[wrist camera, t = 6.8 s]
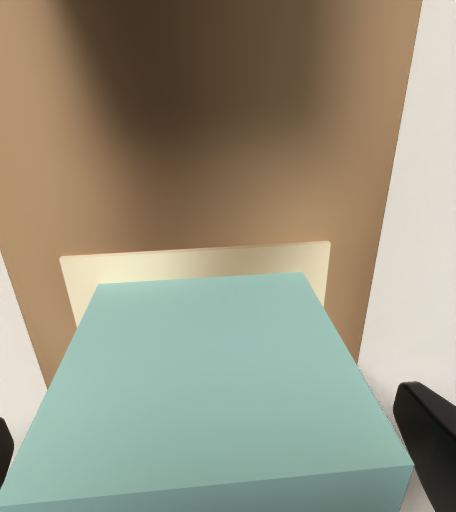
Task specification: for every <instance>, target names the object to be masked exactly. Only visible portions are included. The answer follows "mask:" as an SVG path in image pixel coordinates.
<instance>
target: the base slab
mask: <svg viewBox="0 0 456 512" xmlns="http://www.w3.org/2000/svg"><path fill="white" fill-rule="evenodd" d="M421 6H422V0H0V251H1V254H2V257H3V260H4V263H5V266H6V269H7V272H8V275H9V278H10V280H11V283H12V286H13V289H14V292H15V295H16V298H17V301H18V304H19V307H20V310H21V313H22V316H23V319H24V322H25V325H26V328H27V331H28V334H29V337H30V340H31V342H32V345H33V348H34V351H35V354H36V357H37V360H38V363H39V366H40V369H41V372H42V375H43V378H44V381H45V384H46V387H47V390H48V389H49V386H50V384H51V382H52V380H53V378H54V376H55V374H56V372H57V370H58V368H59V365H60V363H61V361H62V359H63V357H64V355H65V353H66V351H67V349H68V347H69V344H70V342H71V340H72V338H73V336H74V334H75V332H76V330H77V328H78V326H79V324H80V321H81V319H82V317H83V315H84V313H85V311H86V309H87V307H88V305H89V303H90V300H91V298H92V296H93V294H94V292H95V290H96V288H97V286H98V284H106V283H123V282H140V281H156V280H173V279H190V278H207V277H223V276H240V275H257V274H274V273H290V272H303V273H304V275H305V277H306V278H307V280H308V282H309V284H310V285H311V287H312V289H313V291H314V292H315V294H316V296H317V297H318V299H319V301H320V303H321V304H322V306H323V308H324V309H325V311H326V313H327V315H328V316H329V318H330V320H331V322H332V323H333V325H334V327H335V328H336V330H337V332H338V334H339V335H340V337H341V339H342V340H343V342H344V344H345V346H346V347H347V349H348V351H349V353H350V354H351V356H352V358H353V359H354V361H355V363H356V365H357V363H358V357H359V351H360V346H361V340H362V335H363V329H364V324H365V318H366V312H367V307H368V301H369V296H370V290H371V285H372V279H373V273H374V268H375V262H376V257H377V251H378V246H379V240H380V234H381V229H382V223H383V218H384V212H385V207H386V201H387V195H388V190H389V184H390V179H391V173H392V168H393V162H394V156H395V151H396V145H397V140H398V134H399V129H400V123H401V117H402V112H403V106H404V101H405V95H406V90H407V84H408V78H409V73H410V67H411V62H412V56H413V51H414V45H415V39H416V34H417V28H418V23H419V17H420V12H421Z"/></svg>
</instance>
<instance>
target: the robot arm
mask: <svg viewBox="0 0 456 512" xmlns="http://www.w3.org/2000/svg"><path fill="white" fill-rule="evenodd" d="M393 414H394V417H395V420H396V422H397V425H398V427H399V430H400V432H401V435H402V437H403V440H404V442H405V445H406V447H407V450H408V452H409V455H410V457H411V459H412V461H413V463H414V467H415V470H416V472H417V475H418V477H419V479H420V482H421V484H422V486H423V488H424V490H425V492H426V494H427V496H428V498H429V500H430V502H431V504H432V506H433V508H434V510H435V512H456V406H455V405H453V404H452V403H450V402H449V401H447V400H446V399H444V398H443V397H441V396H440V395H438V394H437V393H435V392H434V391H432V390H431V389H429V388H428V387H426V386H425V385H423V384H421V383H420V382H416V381H413V382H403V383H401V384H400V385H399V386H398V389H397V393H396V397H395V401H394V405H393ZM13 451H14V442H13V439H12V436H11V434H10V432H9V429H8V427H7V425H6V422H5V420H4V419H3V418H1V417H0V489H1V487H2V485H3V483H4V481H5V478H6V475H7V471H8V468H9V465H10V461H11V458H12V455H13Z"/></svg>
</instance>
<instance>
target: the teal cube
mask: <svg viewBox="0 0 456 512" xmlns="http://www.w3.org/2000/svg"><path fill="white" fill-rule="evenodd" d="M413 468H414V463H413V461H412V459H411V458H410V456H409V454H408V452H407V451H406V449H405V447H404V446H403V444H402V442H401V440H400V439H399V437H398V435H397V434H396V432H395V430H394V428H393V427H392V425H391V423H390V421H389V420H388V418H387V416H386V415H385V413H384V411H383V409H382V408H381V406H380V404H379V402H378V401H377V399H376V397H375V396H374V394H373V392H372V390H371V389H370V387H369V385H368V384H367V382H366V380H365V378H364V377H363V375H362V373H361V371H360V370H359V368H358V366H357V365H356V363H355V361H354V359H353V358H352V356H351V354H350V353H349V351H348V349H347V347H346V346H345V344H344V342H343V340H342V339H341V337H340V335H339V334H338V332H337V330H336V328H335V327H334V325H333V323H332V322H331V320H330V318H329V316H328V315H327V313H326V311H325V309H324V308H323V306H322V304H321V303H320V301H319V299H318V297H317V296H316V294H315V292H314V291H313V289H312V287H311V285H310V284H309V282H308V280H307V278H306V277H305V275H304V273H303V272H290V273H274V274H257V275H240V276H223V277H207V278H190V279H173V280H156V281H140V282H123V283H106V284H98V286H97V288H96V290H95V292H94V294H93V296H92V298H91V300H90V303H89V305H88V307H87V309H86V311H85V313H84V315H83V317H82V319H81V321H80V324H79V326H78V328H77V330H76V332H75V334H74V336H73V338H72V340H71V342H70V344H69V347H68V349H67V351H66V353H65V355H64V357H63V359H62V361H61V363H60V365H59V368H58V370H57V372H56V374H55V376H54V378H53V380H52V382H51V384H50V386H49V389H48V391H47V393H46V395H45V397H44V399H43V401H42V403H41V405H40V407H39V410H38V412H37V414H36V416H35V418H34V420H33V422H32V424H31V426H30V428H29V431H28V433H27V435H26V437H25V439H24V441H23V443H22V445H21V447H20V449H19V452H18V454H17V456H16V458H15V460H14V462H13V464H12V466H11V468H10V470H9V473H8V475H7V477H6V479H5V481H4V483H3V485H2V487H1V489H0V512H399V510H400V507H401V504H402V501H403V498H404V495H405V492H406V489H407V486H408V483H409V480H410V477H411V474H412V471H413Z"/></svg>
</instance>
